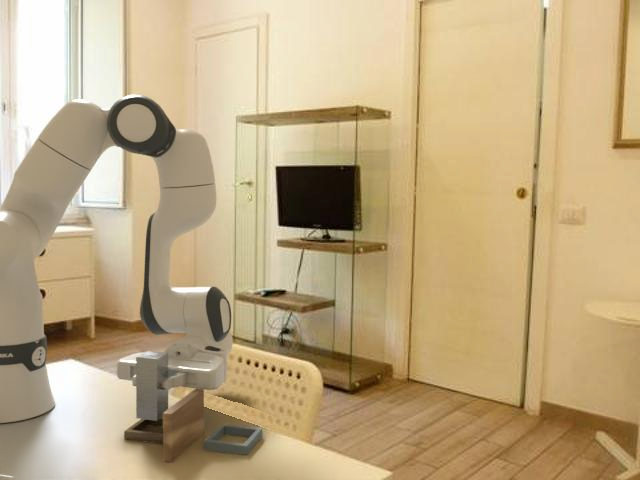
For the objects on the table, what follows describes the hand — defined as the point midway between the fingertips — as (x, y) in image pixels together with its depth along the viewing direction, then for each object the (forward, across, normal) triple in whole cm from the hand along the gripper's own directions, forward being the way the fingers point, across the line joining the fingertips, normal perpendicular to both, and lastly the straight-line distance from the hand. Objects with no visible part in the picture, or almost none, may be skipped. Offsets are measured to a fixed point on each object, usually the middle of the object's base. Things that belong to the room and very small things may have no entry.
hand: (149, 383), depth 108 cm
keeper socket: (-1, +16, +9) cm, 18 cm away
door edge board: (+2, +8, +9) cm, 12 cm away
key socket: (-1, 0, +9) cm, 9 cm away
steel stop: (-1, 0, +6) cm, 6 cm away
